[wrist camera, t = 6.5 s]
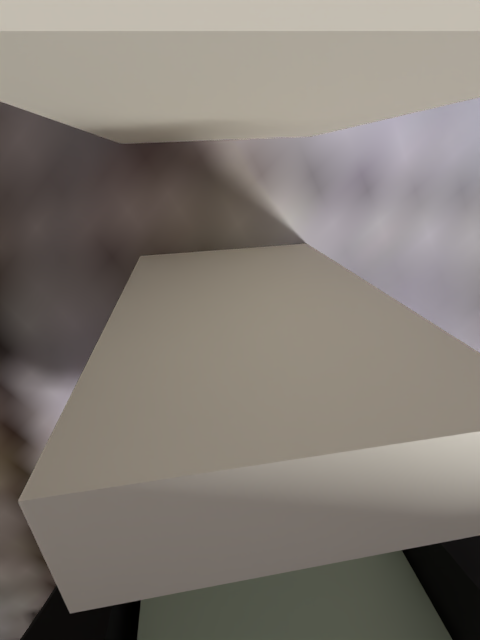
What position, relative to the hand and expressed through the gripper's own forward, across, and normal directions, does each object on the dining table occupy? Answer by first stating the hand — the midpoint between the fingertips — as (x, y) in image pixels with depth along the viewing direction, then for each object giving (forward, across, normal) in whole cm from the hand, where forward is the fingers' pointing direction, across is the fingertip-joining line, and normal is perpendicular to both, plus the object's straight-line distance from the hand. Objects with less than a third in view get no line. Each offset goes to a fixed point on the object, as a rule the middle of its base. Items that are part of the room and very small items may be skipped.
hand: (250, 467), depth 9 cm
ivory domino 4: (+3, 0, -4) cm, 6 cm away
